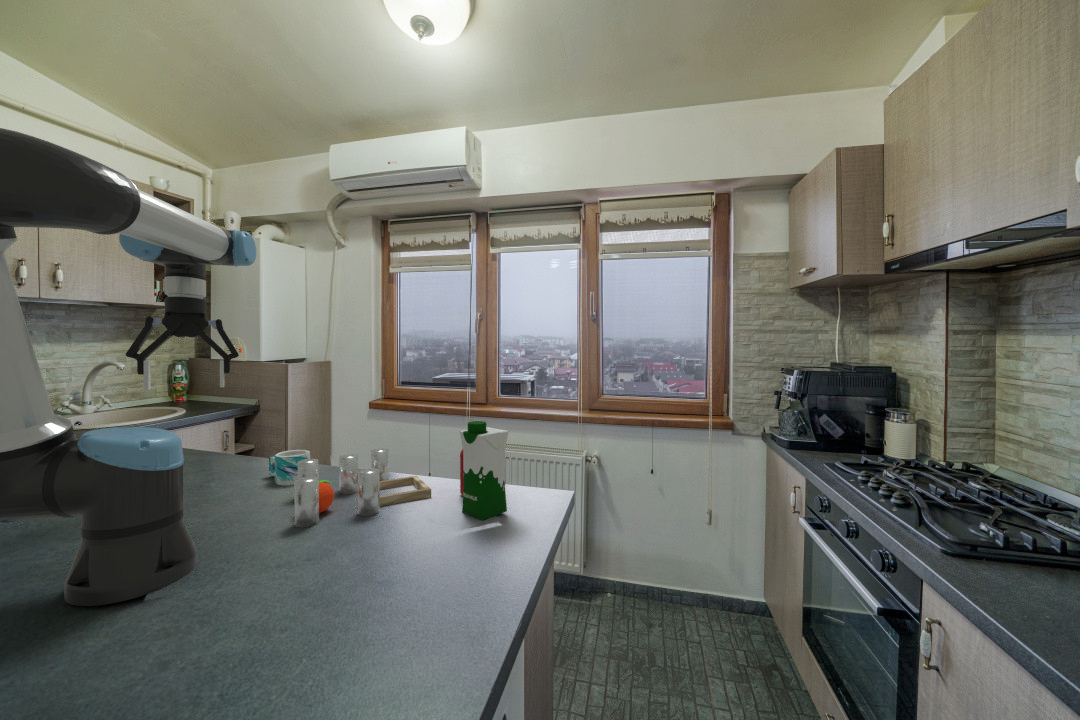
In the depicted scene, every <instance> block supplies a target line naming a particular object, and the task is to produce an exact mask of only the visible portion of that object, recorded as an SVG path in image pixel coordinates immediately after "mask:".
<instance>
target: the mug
mask: <svg viewBox="0 0 1080 720" xmlns="http://www.w3.org/2000/svg"><path fill="white" fill-rule="evenodd" d="M305 459H311V451H310V450H306V449H291V450H284V451H281V452H278V453H276V454H274V455H273V456H269V457H268V476H272V477H274V483H275V484H276V485H278V486H294V481H295V480H296V479H298V461H300V460H305Z"/></svg>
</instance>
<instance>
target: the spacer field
mask: <svg viewBox="0 0 1080 720" xmlns="http://www.w3.org/2000/svg"><path fill="white" fill-rule="evenodd" d="M389 452H390V451H389V448H385V447H384V448H381V447H380V448H374V449H371V450H370V468H365V469H361V470H359V455H358V454H356V453H355V454H354V453H351V454H350V453H349V454H343V455H339V457H338V463H339V464H338V466H339V467H338V471H339V472H338V477H339V478H338V479H339V483H338V484H339V487H338V490H339V493H340V494H341V495H351V494H355V493H357V500H358V501H357V514H358V515H359V516H362V517H363V516H364V517H366V516H373V515H376V514H379V513H380V512H381V511H380V510H381V508H380V507H381V506H380V496H381V495H380V481H384V480H390V477H389V476H390V475H389V474H390V472H389V471H390V470H389V469H390V468H389V463H390V462H389V458H390V457H389ZM319 472H320V471H319V459H318V458H310V459H305V460H300V461H298V479H296V480H295V481H294V485H293V486H294V527H296V528H300V529H301V528H309V527H312V526H315V525H317V524H319V523H320V513H319V481H320V480H319V479H320V478H319Z"/></svg>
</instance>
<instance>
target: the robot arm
mask: <svg viewBox="0 0 1080 720" xmlns="http://www.w3.org/2000/svg"><path fill="white" fill-rule="evenodd" d="M15 228H45V229H64V230H65V229H68V230H81V231H85V232H89V233H92V234H97V235H101V236H105V235H106V236H110V235H117V234H119V236H118V239H119V241H118V242H119V243H120V246H121V248H122V249H123V250H124V252H126V253H127V254H128V255H130V256H132V257H135V258H137V259H139V260H141V261H143V262H149V263H152V264H155V265H159V266H161V267H164V295H166V297H165V298H164V316H163V318H161V317H160V318H158V317H153V316H149V315H148V316H147V317H145V320H144V321H145V322H144V326H143V328H142V329H141V331H140V333H138V335H137V336H136V338H135V339H134V341H133V342H132V344H131V345H130V347H129V348H128V350H127V351H126V353H125V357H127V358H129V359H130V358H131V359H134V360H135V361H136V365H137V366H136V367H137V368H136V371H137V374H138V375H143V391H145V390H147V391H149V390H152V389H151V386H152V385H151V384H152V383H151V375H152V374H151V367H152V366H151V363H152V361H151V360H147V359H148V358H149V357H150V356H151V355H152V354H153V353H154V352H156V350H158V349H159V348H160V347H161V346H162V345H163V344H165V343H166V342H167V341H168V340H169V339H171V338H172V337H176V338H186V337H187V338H190V339H191V338H193V339H194V338H197V337H200V338H201V339H203V340H204V341H205V342H206V344H208V345H209V346H210V347H211V348H212V349H213V350H214V351H215V352H216V353H217V354H218V355H219V356H220V357H222V359H223V360H222V359H221V360H219V388H225V374H229V373H230V372H231V361H232V360H233V359H237V358H239V356H240V355H239V352H238V351H237V349H236V348H235V346H234V344H233V342H232V340H231V339H230V338H229V336H228V334H227V333H226V331H225V330H224V324H223V321H222V319H219V318H218V319H214V320H208V318H207V301H206V299H205V298H206V297H207V277H206V275H207V272H206V270H207V266H229V267H230V266H232V267H234V268H235V267H248V266H252V265H253V264H254V263H255V262H256V259H257V244H256V242H255V239H254V237H253V236H252V234H250V233H249V232H248V231H245V230H243V231H242V230H236V229H224V228H222V227H219V226H217V225H215V224H213V223H211V222H208V221H207V220H205V219H202V218H201V217H198V216H196V215H194V214H193V213H190V212H187V211H185V210H184V209H182V208H179V207H177V206H175V205H173V204H171V203H169V202H166V201H164V200H162V199H161V198H158V197H156V196H154V195H152V194H150V193H147V192H145V191H143V190H141V189H139V188H138V187H137V186H136V184H135V183H134V182H133V181H132V180H131V179H130V178H129V177H127V176H126V175H125V174H123V173H121V172H119V171H117V170H116V169H114V168H111V167H109V166H107V165H106V164H103V163H101V162H99V161H97V160H95V159H92V158H90V157H87V156H85V155H83V154H81V153H79V152H76V151H73V150H71V149H69V148H66V147H63V146H61V145H59V144H56V143H54V142H50V141H48V140H45V139H41V138H39V137H36V136H33V135H30V134H26V133H24V132H20V131H18V130H17V131H15V130H12V129H6V128H3V127H0V524H6V523H14V522H17V521H30V520H31V521H32V520H35V521H36V520H45V519H47V520H48V519H49V520H50V519H64V518H65V519H66V518H67V519H68V518H80V543H79V546H78V548H77V551H76V553H75V555H74V558H73V561H72V563H71V565H70V569H69V570H68V573H67V576H66V578H65V581H64V587H63V590H64V591H63V597H64V601H65V602H66V603H67V604H69V605H72V606H77V607H78V606H79V607H94V606H95V607H96V606H104V605H105V606H106V605H111V604H117V603H120V602H121V603H122V602H124V601H129V600H132V599H136V598H140V597H143V596H145V595H148V594H150V593H152V592H155V591H157V590H159V589H163V588H164V587H167V586H169V585H172V584H174V583H175V582H178V581H179V580H181V579H183V578H184V577H186V576H187V575H189V574H190V573H192V572H193V571H194V570H195V569H196V567H197V566H198V563H199V557H198V556H199V554H198V553H199V552H198V548H197V545H196V544H195V542H194V540H193V537H192V535H191V532H190V531H189V529H188V526H187V524H186V522H185V519H184V518H185V517H184V462H185V456H184V451H183V444H182V443H183V442H182V439H181V437H180V436H179V435H178V434H176V433H175V432H174V431H170V430H167V429H163V428H158V427H157V428H155V427H141V426H140V427H137V426H130V427H107V428H105V427H104V428H100V429H99V428H98V429H97V428H96V429H93V430H89V431H86V432H84V433H83V434H81V435H80V437H79V438H77V436H76V433H75V429H74V426H73V423H72V420H71V419H69V418H68V417H67V418H66V417H64V416H61V415H58V414H55V413H54V411H53V410H54V409H53V408H52V404H51V401H50V397H49V395H48V391H47V388H46V385H45V382H44V379H43V375H42V372H41V368H40V366H39V363H38V359H37V355H36V352H35V349H34V347H33V343H32V339H31V336H30V333H29V329H28V327H27V323H26V319H25V317H24V314H23V309H22V307H21V304H20V300H19V298H18V295H17V291H16V287H15V284H14V282H13V277H12V275H11V271H10V268H9V264H8V262H7V259H6V255H5V253H6V251H7V250H8V249H9V248H10V247H11V246H12V245H14V244H15V243H17V241H18V238H17V234H16V230H15ZM160 324H162V325H163V326H164V327H165V328H166V330H165V331H163V332H162V334H161V335H160V336H158V337H157V338H156V339H155V340H154V341H152V343H150V344H149V345H148V346H147V347H146V348H145V349H144V350H143V351H141V352H140V353H139V351H140V349H141V348H142V347H143V345H144V344H145V342H146V341H147V339H148V338H149V336H150V335H151V333H153V331H154V328H156V327H157V328H158V326H159V325H160ZM209 326H211V327H212V328H213V329H214V330H217V333H218V334H219V336H220V337H221V339H222V341H223V342H224V344H225V346H226V347H227V349H228V350H229V352H230V353H229V354H228V352H226V351H225V350H224V349H223V348H221V347H220V346H219V345H218V343H216V342H215V341H214V339H212V338H211V337H210V335H208V334H207V333H206V332H205V330H206V329H207V328H208V327H209Z"/></svg>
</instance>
